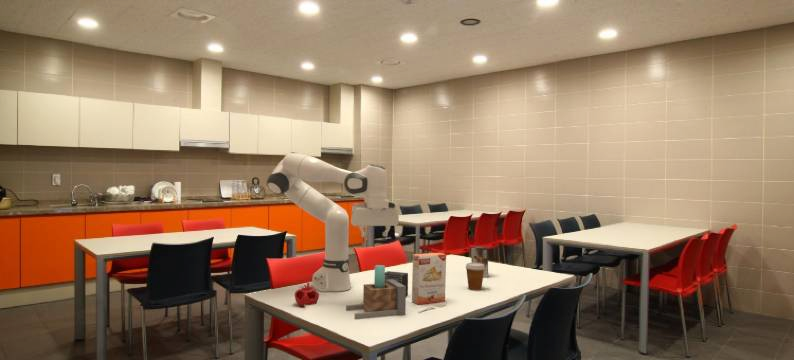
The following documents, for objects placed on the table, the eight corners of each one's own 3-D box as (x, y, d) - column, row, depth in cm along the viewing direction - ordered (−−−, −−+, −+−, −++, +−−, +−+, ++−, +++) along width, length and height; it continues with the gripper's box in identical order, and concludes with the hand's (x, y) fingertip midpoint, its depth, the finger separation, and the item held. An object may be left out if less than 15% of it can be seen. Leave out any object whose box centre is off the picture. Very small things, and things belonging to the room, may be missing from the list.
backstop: (342, 323, 179) (342, 291, 179) (333, 313, 192) (333, 283, 192) (405, 317, 188) (405, 286, 188) (392, 308, 201) (392, 279, 201)
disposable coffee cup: (462, 289, 235) (463, 265, 235) (467, 285, 244) (468, 261, 244) (482, 291, 231) (482, 266, 231) (486, 287, 240) (486, 263, 240)
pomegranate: (297, 302, 210) (297, 280, 210) (320, 302, 210) (320, 280, 210) (292, 307, 200) (292, 285, 200) (316, 308, 200) (316, 285, 200)
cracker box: (418, 305, 206) (418, 256, 206) (411, 301, 211) (411, 253, 211) (446, 301, 213) (446, 253, 212) (438, 298, 218) (439, 251, 218)
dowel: (372, 299, 191) (372, 266, 191) (378, 297, 194) (379, 264, 194) (379, 300, 189) (380, 267, 189) (386, 298, 192) (387, 266, 192)
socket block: (371, 316, 185) (371, 290, 185) (363, 309, 195) (363, 284, 194) (395, 313, 189) (395, 288, 189) (386, 307, 198) (387, 282, 198)
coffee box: (487, 275, 270) (488, 246, 270) (488, 277, 264) (488, 248, 263) (471, 274, 271) (471, 246, 271) (471, 277, 265) (471, 247, 265)
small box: (408, 295, 223) (408, 272, 223) (402, 298, 217) (403, 275, 217) (387, 292, 228) (388, 270, 228) (381, 295, 222) (381, 272, 222)
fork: (402, 316, 191) (403, 311, 191) (442, 305, 208) (442, 300, 208) (408, 318, 189) (408, 313, 189) (448, 306, 206) (448, 302, 206)
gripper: (354, 203, 196) (353, 237, 197) (400, 204, 204) (399, 237, 204) (349, 202, 202) (348, 235, 202) (395, 203, 210) (393, 235, 210)
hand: (374, 236), depth 203 cm, fingers open, 8 cm apart
